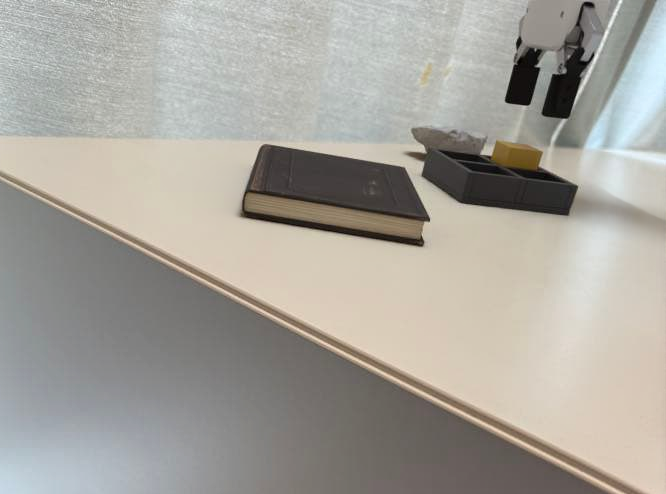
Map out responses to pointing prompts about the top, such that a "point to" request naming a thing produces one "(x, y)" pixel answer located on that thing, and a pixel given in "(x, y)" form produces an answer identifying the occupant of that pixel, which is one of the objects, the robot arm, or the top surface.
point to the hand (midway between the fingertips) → (535, 110)
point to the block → (516, 155)
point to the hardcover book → (334, 194)
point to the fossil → (450, 139)
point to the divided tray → (497, 182)
